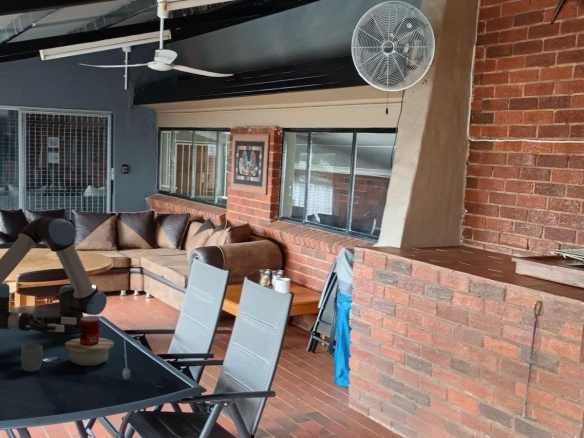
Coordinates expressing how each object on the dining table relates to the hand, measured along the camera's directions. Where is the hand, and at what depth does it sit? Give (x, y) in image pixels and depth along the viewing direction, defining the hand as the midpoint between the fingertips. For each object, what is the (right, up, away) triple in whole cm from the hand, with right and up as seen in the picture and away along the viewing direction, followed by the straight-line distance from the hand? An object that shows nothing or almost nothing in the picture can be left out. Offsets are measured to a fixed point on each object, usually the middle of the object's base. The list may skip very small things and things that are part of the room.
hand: (70, 324), depth 284 cm
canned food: (+8, -8, 0) cm, 12 cm away
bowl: (+8, -16, +1) cm, 18 cm away
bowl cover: (+8, -9, 0) cm, 12 cm away
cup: (-11, -17, -14) cm, 24 cm away
